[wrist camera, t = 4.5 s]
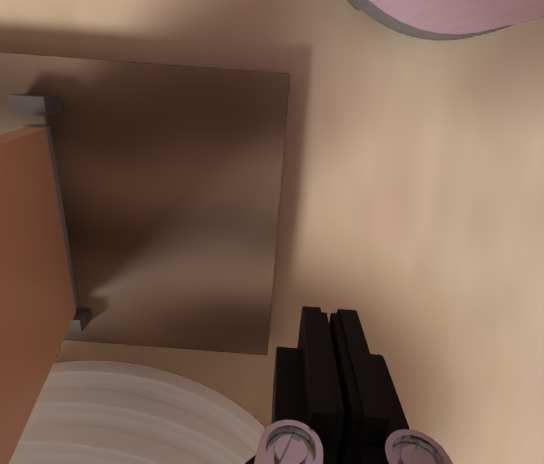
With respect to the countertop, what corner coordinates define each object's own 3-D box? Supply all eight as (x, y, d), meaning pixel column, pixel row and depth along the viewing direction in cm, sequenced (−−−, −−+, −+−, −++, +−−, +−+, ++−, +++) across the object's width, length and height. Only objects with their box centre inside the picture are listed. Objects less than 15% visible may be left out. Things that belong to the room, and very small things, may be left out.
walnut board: (-178, 40, 18) (-254, 32, 15) (289, 74, 18) (290, 72, 15) (-79, 312, 24) (-122, 339, 21) (268, 339, 24) (266, 369, 21)
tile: (53, 124, 17) (29, 123, 17) (-119, 187, 7) (-182, 187, 7) (81, 301, 21) (62, 302, 21) (-8, 500, 11) (-46, 507, 11)
